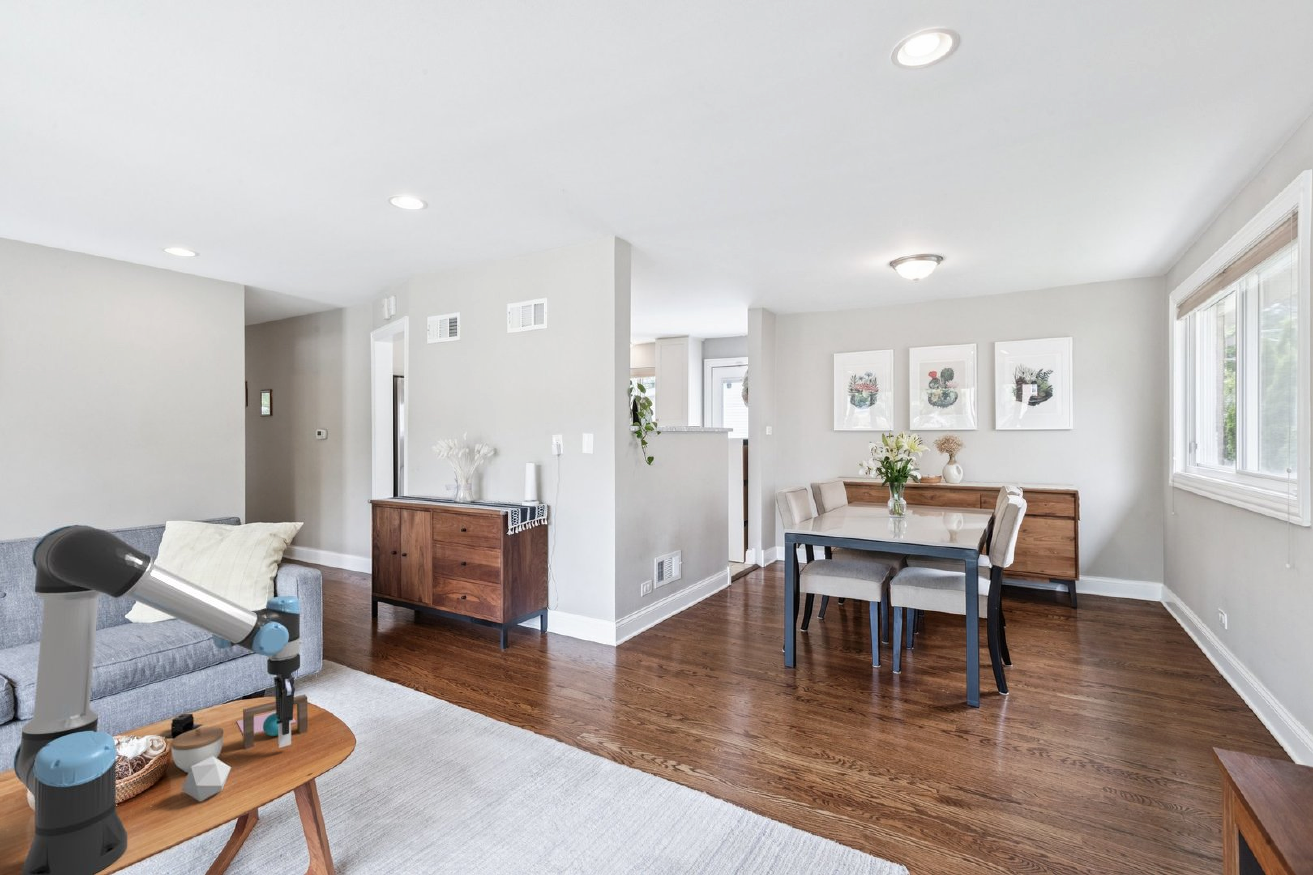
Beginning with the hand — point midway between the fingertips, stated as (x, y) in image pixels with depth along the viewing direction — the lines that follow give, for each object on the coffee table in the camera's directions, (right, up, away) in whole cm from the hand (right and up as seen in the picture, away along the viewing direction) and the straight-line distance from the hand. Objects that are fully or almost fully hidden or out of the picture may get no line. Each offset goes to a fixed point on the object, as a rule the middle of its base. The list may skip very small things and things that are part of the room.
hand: (284, 744), depth 167 cm
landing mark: (-16, -2, +19) cm, 25 cm away
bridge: (-7, -2, +8) cm, 11 cm away
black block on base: (-37, -4, +14) cm, 40 cm away
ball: (-9, +1, +10) cm, 13 cm away
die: (-6, -2, -20) cm, 21 cm away
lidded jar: (-18, -2, -7) cm, 19 cm away
